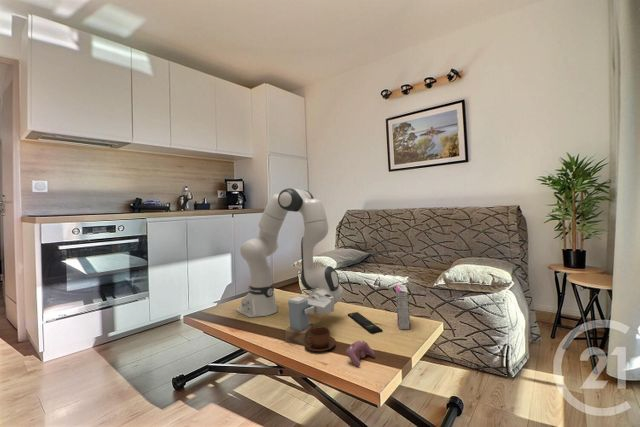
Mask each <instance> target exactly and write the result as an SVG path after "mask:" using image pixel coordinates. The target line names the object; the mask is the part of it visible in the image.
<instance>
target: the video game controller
mask: <svg viewBox="0 0 640 427" xmlns="http://www.w3.org/2000/svg"><path fill="white" fill-rule="evenodd" d="M345 353H346V355H347V357H348V358H349V360H350V361H351V363H353V365H354V366H355V367H357V368H360V366H361V362H360V359H363V358H365V357H366V354H367V355H368V356H369V357H371V358H375V356H376V354H375V351H374V350H373V348H372V347H370V345H369V344H368V342H366V341H365V340H357V341H354V342H353V343H351V344H350V346H348V348H347V349H346V352H345Z"/></svg>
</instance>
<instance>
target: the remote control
mask: <svg viewBox="0 0 640 427" xmlns="http://www.w3.org/2000/svg"><path fill="white" fill-rule="evenodd" d="M347 316H348V317H349V318H351V319H352V320H353V321H354V322H356V323H357V324H358V325H359V326H361V327H362V328H363V329H365V330H366V331H367V332H368V333H370V334H371V335H374V334H379V332H380V333H382V332H384V331H383V329H382V328H380V327H379V326H377V325H376V323H374V322H372V321H371V320H369V319H368V318H367V317H366V316H364V315H362V314H361V313H359V311H358V312H357V311H356V312H355V311H354V312H349V313H347Z"/></svg>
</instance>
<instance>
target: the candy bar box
mask: <svg viewBox="0 0 640 427" xmlns="http://www.w3.org/2000/svg"><path fill="white" fill-rule="evenodd" d="M395 298H396V315H397V316H396V317H397V319H396V320H397V326H398V329H399V330H401V329H410V330H411V320H410V317H411V316H410V303H409V290H408V286H407V284H395Z"/></svg>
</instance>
